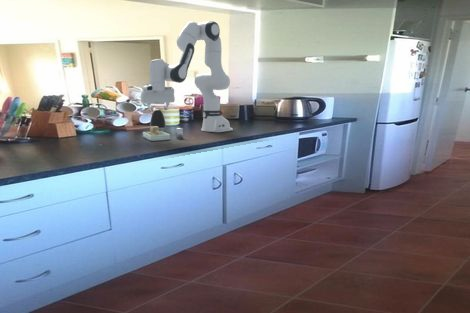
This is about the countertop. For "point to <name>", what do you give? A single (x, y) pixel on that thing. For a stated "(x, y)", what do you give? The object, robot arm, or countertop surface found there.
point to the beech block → (154, 130)
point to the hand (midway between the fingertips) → (158, 110)
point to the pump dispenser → (158, 120)
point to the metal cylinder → (179, 133)
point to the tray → (156, 136)
